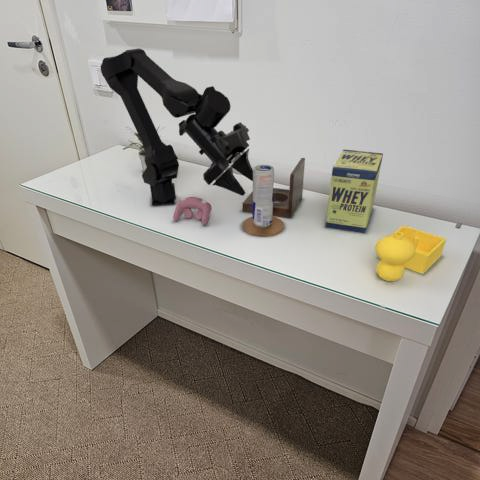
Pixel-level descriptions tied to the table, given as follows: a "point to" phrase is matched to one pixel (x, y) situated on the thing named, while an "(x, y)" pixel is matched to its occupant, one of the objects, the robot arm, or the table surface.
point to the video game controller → (195, 203)
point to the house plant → (141, 153)
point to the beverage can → (263, 195)
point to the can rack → (274, 203)
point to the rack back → (296, 185)
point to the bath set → (407, 252)
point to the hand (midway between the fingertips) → (250, 187)
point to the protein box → (353, 190)
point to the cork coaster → (271, 230)
